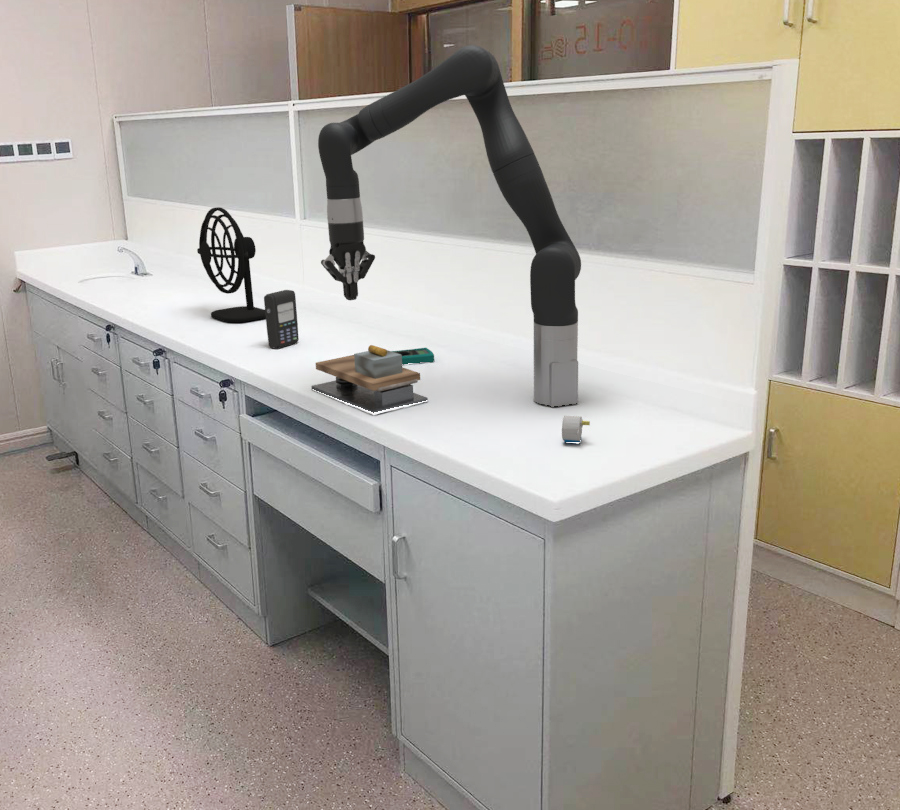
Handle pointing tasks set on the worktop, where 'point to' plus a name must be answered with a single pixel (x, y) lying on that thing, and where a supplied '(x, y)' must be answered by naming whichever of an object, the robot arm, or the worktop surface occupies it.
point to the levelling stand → (369, 395)
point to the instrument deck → (360, 379)
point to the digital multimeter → (416, 355)
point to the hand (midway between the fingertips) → (351, 299)
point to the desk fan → (243, 252)
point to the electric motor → (572, 428)
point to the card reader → (281, 318)
